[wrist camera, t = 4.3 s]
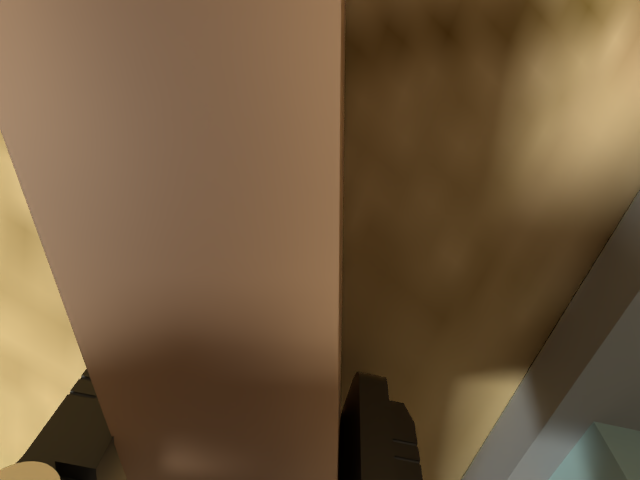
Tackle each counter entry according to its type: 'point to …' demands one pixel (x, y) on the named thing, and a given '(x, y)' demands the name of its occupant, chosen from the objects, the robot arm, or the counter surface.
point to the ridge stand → (580, 383)
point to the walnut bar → (191, 219)
